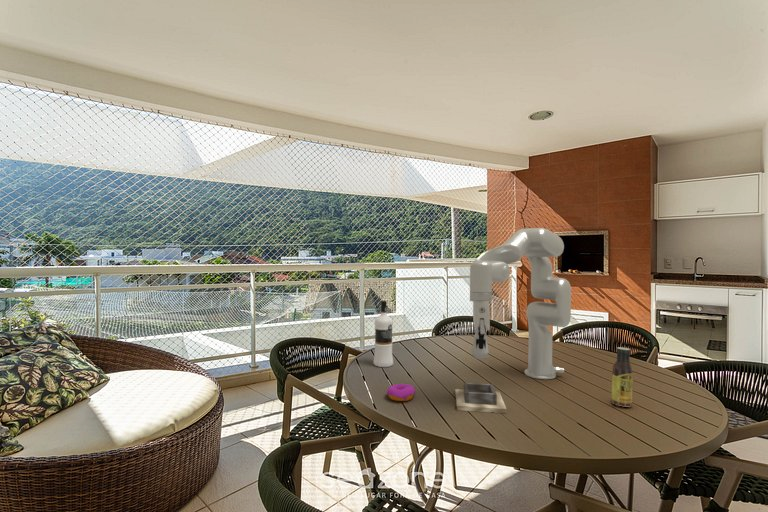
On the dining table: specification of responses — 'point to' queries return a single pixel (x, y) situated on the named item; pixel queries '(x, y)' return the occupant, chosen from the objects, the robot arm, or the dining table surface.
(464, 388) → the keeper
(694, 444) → the dining table surface
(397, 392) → the donut
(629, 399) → the sauce bottle
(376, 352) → the vodka
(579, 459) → the dining table surface
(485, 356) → the salt shaker
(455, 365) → the dining table surface
